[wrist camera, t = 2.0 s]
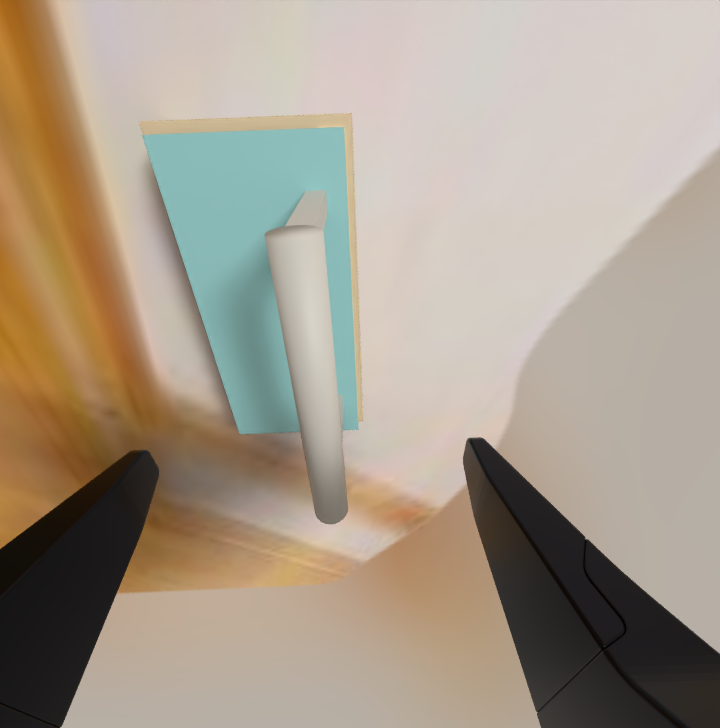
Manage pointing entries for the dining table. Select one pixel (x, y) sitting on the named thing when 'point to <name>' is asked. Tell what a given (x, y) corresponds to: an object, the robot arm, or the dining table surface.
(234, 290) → the lid flap
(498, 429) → the dining table surface
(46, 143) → the dining table surface
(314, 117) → the carton
